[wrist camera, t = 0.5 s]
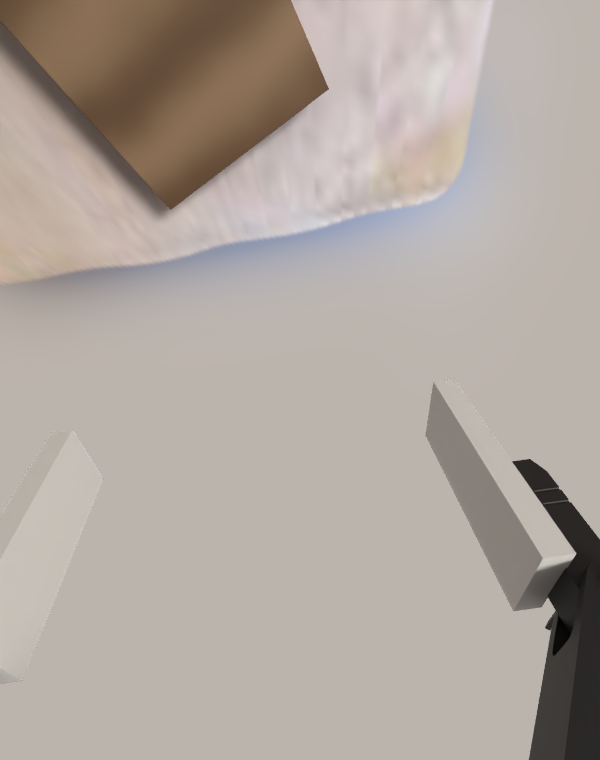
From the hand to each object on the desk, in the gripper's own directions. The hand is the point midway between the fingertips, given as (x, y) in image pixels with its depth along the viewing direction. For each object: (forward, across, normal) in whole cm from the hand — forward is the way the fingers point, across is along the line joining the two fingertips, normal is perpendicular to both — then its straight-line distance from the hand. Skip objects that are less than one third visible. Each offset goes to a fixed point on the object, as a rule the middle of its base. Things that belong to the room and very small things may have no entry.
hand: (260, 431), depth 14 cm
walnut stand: (+23, -3, +14) cm, 27 cm away
